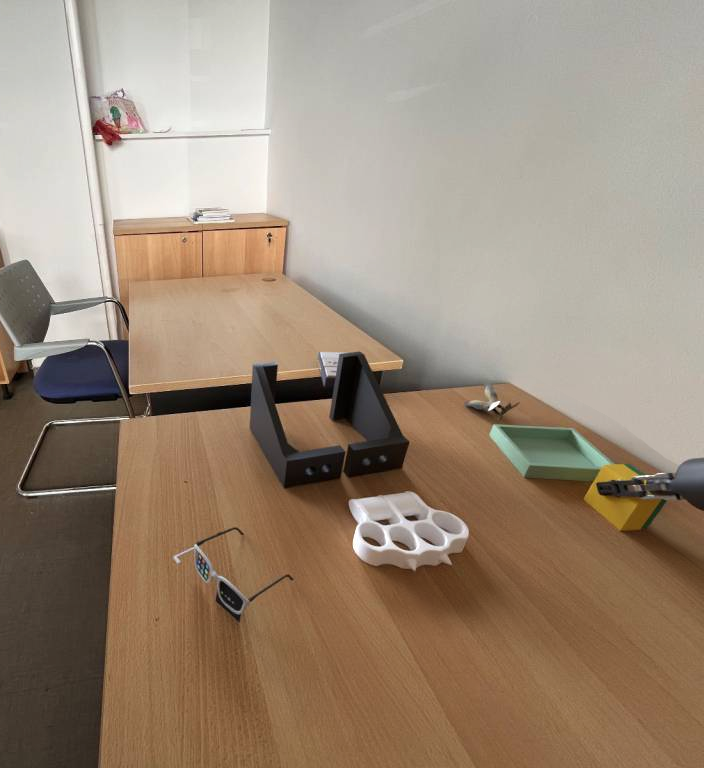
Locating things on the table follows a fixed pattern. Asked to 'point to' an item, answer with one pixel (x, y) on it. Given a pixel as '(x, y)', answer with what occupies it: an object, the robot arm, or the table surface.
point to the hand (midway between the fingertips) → (614, 488)
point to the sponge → (623, 500)
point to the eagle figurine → (490, 402)
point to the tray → (549, 452)
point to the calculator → (328, 367)
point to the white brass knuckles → (405, 531)
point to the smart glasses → (223, 580)
